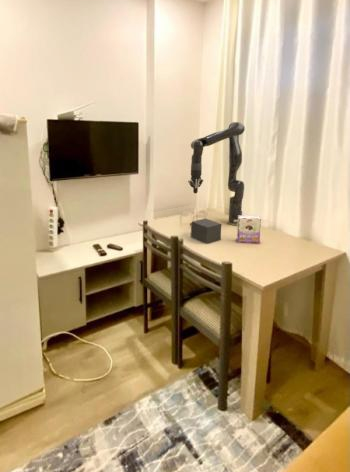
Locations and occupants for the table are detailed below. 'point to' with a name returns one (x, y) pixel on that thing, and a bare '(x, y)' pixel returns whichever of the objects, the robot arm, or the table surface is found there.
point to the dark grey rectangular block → (206, 230)
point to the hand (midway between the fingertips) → (195, 193)
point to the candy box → (248, 229)
